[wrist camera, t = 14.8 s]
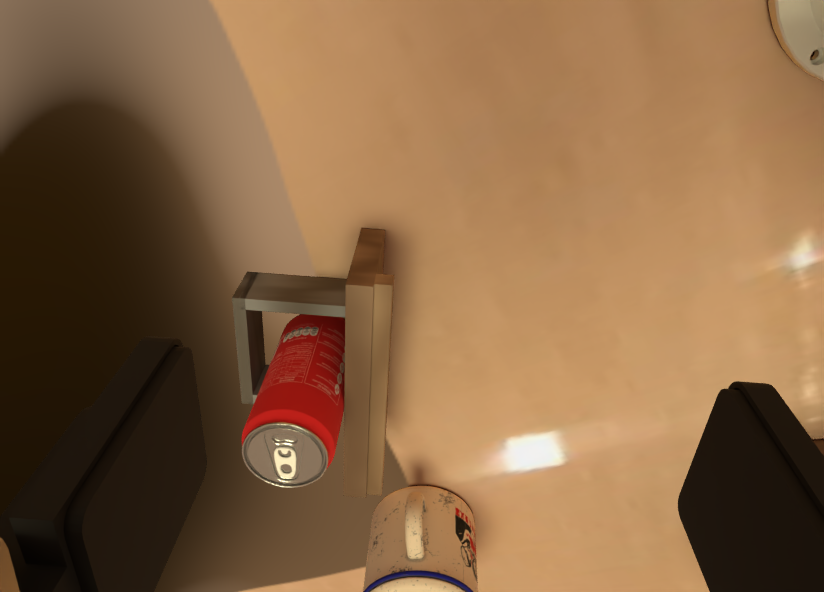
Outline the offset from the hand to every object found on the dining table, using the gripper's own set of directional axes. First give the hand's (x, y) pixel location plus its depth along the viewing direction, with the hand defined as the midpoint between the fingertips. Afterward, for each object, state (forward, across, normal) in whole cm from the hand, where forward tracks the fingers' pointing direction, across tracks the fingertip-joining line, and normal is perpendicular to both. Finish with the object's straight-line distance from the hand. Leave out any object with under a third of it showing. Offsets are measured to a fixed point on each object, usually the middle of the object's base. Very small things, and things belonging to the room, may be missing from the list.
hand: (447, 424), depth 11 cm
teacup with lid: (+28, -1, +34) cm, 44 cm away
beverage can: (+28, +7, +17) cm, 34 cm away
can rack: (+28, +8, +17) cm, 34 cm away
